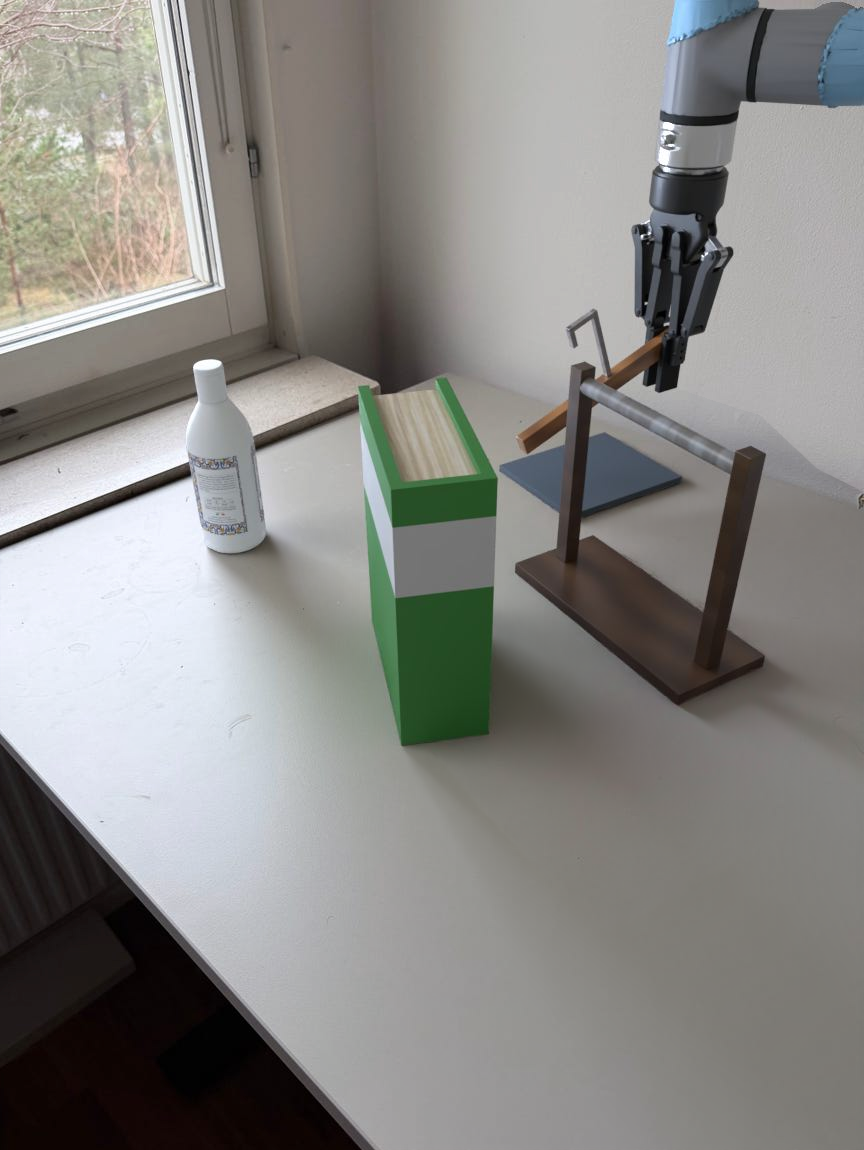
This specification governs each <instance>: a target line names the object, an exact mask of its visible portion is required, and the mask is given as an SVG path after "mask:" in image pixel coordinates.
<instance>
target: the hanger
mask: <svg viewBox="0 0 864 1150" xmlns="http://www.w3.org/2000/svg"><path fill="white" fill-rule="evenodd" d="M589 322H591V326H592V330H593V334H594V338H595V344H596V347H597V351H598V356H599V359H600V364H601V368H602V373H603V374H601V375H600V376H598V377H597V378H595V380H597V381H599V382H601V383H603V384H605V385H607V386H609V387H611V388H613V389H614V390H616V391H619V389H620V388H622V387H623V386H624V385H627V384H628V383H629V382H630V381H632V380H633V379H634V378H636V377H638V376H639V375H640V374H641V373H644V370H646V369H647V368H648V367H650V366H651V365H652V364H654V363H655V362H657V361H658V360H659V357H660V350H661V341H662V336H663V333H666V332H669V328H667V329H665V330H664V331H663V332H661V333H660V334H658V335H657V336H656V337H654V338H653V339H651V340H650V341H649V342H647V343H646V344H645V343H644V344H643V345H642V346H640V347H639V348H637V349H636V350H635V351H633V352H632V353H631V354H629V355H628V356H626V357H625V358H624V359H622V360H621V361H619V362H618V363H616V364H615V365H614V366H612V367H611V365H610V361H609V356H608V352H607V348H606V343H605V339H604V335H603V330H602V325H601V322H600V317H599V312H598V310H597V309H595V308H592V309H590V310H589V311H587V312H586V313H585V314H583V315H582V316H580V317H579V318H577V319H576V320H574V321H573V322H572V323H570V324H569V325H568V326H566V327H565V332H566V335H567V339H568V343H569V347H570V348H572V349H576V348H577V347H578V346H579V343H578V340H577V336H576V331H577V330H579V329H580V328H582V327H583V326H584V325H586V324H587V323H589ZM597 405H599V403H598V402H596V401H595V400H593V402H592V409H593V408H594V407H595V406H597ZM567 410H568V399H566V400H564V401H563V402H562V403H560V404H559V405H558V406H556V407H555V408H553V409H552V410H551V411H549V412H548V413H546V414H545V415H544V416H542V417H541V418H539V420H536V421H535V422H533V423H532V424H531V425H530V426H528V427H527V428H526V429H524V430H523V431H521V432H520V433H519V434H517V435H516V436H515V438H516V441H517V444H518V448H519V450H520V451H521V452H523V453H524V454H526V455H529V454H530V453H532V452H533V451H535V450H536V449H537V448H539V447H540V446H541V445H543V444H544V443H546V442H547V441H548V440H550V439H551V438H552V437H554V436H555V435H557V434H558V433H560V432H561V431H562V430H563V429H566V423H567Z"/></svg>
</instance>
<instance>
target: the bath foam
mask: <svg viewBox="0 0 864 1150" xmlns="http://www.w3.org/2000/svg"><path fill="white" fill-rule="evenodd" d="M192 370H193V374H194V375H193V376H194V382H195V388H196V393H197V398H198V401H197V403H196V405H195V407H194V409H193V411H192V413H191V415H190V418H189V421H188V423H187V427H186V434H185V444H186V447H185V448H186V452H187V458H188V463H189V469H190V475H191V481H192V486H193V490H194V496H195V501H196V508H197V513H198V518H199V523H200V524H199V525H200V527H201V534H202V538H203V542H204V544H205V546H207V547H208V548H209V549H211V550H213V551H215V552H218V553H221V554H239V553H244V552H248V551H251V550H253V549H254V548H256V547H258V546H259V545H261V543H263V541H264V539H266V535H267V526H266V519H265V510H264V503H263V495H262V489H261V481H260V473H259V465H258V459H257V451H256V445H255V443H256V442H255V438H254V435H253V431H252V427H251V425H250V423H249V421H248V420H247V417H245V414H243V412H242V411H241V410H240V408H239V407H238V406H237V404H235V402H233V401H232V400H231V399H230V398H229V396H228V390H227V382H226V376H225V375H226V374H225V368H224V365H223V362H222V361H221V360H218V359H203V360H199V361H197V362H195V363H194V364H193V367H192Z"/></svg>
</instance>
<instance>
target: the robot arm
mask: <svg viewBox="0 0 864 1150" xmlns="http://www.w3.org/2000/svg"><path fill="white" fill-rule="evenodd" d="M814 8H815V7H814ZM814 8H798V9H797V8H795V9H794V8H792V9H791V8H789V9H775V8H767V7H760V1H759V0H675V1H674V6H673V11H672V18H671V24H670V28H669V36H668V39H667V40H666V54H665V56H666V57H665V65H664V68H665V69H664V74H663V75H664V76H663V84H662V85H663V86H662V95H661V104H660V110H659V117H658V118H659V119H658V127H657V134H656V142H655V150H654V151H655V152H654V161H655V162H656V164H658V165H656V166H655V167H654V169H653V170H652V173H651V181H650V188H649V197H648V203H649V206H650V207H651V208H652V209H653V210H652V212H651V214H650V217H649V220H647V221H645V222H642V223H641V222H640V223H637V224H633V225H632V227H631V230H630V232H631V235H632V242H633V246H634V307H633V308H634V309H633V310H634V311H633V313H634V315H635V317H636V318H641V319H642V320H643V321H644V326H645V328H646V330H645V338H644V339H645V340H644V345H645V344H646V343H647V342H649V341H650V340H651V339H653V338H654V337H656V336H657V335H658V334H660V333H661V332H663V331H664V330H665V329H667V328H669V332H666V333H663V336H662V341H661V350H660V357H659V360H658V361H657V362H655V363H654V364H652V365H651V366H650V367H648V368H647V369H646V370H644V371H643V377H642V382H641V383H642V386H643V387H645V388H647V387H652V386H654V385H655V386H654V392H656V393H658V394H661V393H664V392H668V391H670V390H671V391H672V390H675V389H677V388H678V384H679V377H680V371H681V365H683V364H684V363H685V361H686V357H687V349H688V343H689V338H690V337H693V336H696V335H700V334H704V333H705V332H706V329H707V326H708V323H709V320H710V316H711V313H712V310H713V307H714V303H715V299H716V297H717V293H718V290H719V287H720V283H721V280H722V278H723V274H724V270H725V268H726V267H727V266H728V264H729V263H730V261H731V260H732V259H733V257H734V248H733V247H732V246H725V247H724V246H723V244H722V243H721V242H720V240H719V239H718V238H717V235H718V226H717V216H718V213H719V211H720V210H721V208H722V207H723V206H724V203H725V199H726V194H727V193H726V192H727V186H728V181H729V174H730V172H729V171H728V169H727V167H726V166H727V165H729V164H730V163H731V162H732V158H733V152H734V151H733V150H734V145H735V137H736V131H737V125H738V119H739V115H740V107H741V103H742V102H747V103H755V104H756V103H770V104H772V103H773V104H787V105H788V104H789V105H804V106H805V105H806V106H821V107H823V106H824V107H827V108H829V109H836V108H839V107H861V106H862V107H863V106H864V8H863V7H860V8H858V9H857V8H855V7H854V6H852V5H850V4H847V3H844V2H830V3H826V4H822V5H821V6H819V7H817V8H815V9H814ZM668 323H669V324H668ZM665 324H666V325H665Z"/></svg>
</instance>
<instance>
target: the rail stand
mask: <svg viewBox="0 0 864 1150" xmlns="http://www.w3.org/2000/svg"><path fill="white" fill-rule="evenodd" d="M596 370H597V367H596V366H595V365H592V364H590V363H588V362H587V361H581V362H578V363H575V364H571V365H570V374H569V386H568V398H567V400H568V410H567V423H566V427H565V436H564V445H565V448H564V461H563V473H562V486H561V498H560V511H559V512H558V524H557V537H556V548H553V549H550V550H548V551H547V550H546V551H544V552H542V553H540V554H537V555H533V556H531V557H528V558H526V559H522V560H520V561H517V562H515V564H514V573H515V574H516V575H517V576H518V577H519V578H521V579H522V580H523V581H524V582H525V583H527V584H528V585H529V586H530V587H532V588H533V589H534V590H536V592H537V593H539V594H540V595H542V596H543V597H544V598H545V599H546V600H547V601H549V602H550V603H551V604H552V605H553V606H555V607H556V608H557V609H559V610H560V611H561V612H562V613H564V614H565V615H566V616H567V617H568V618H570V619H571V620H572V621H573V622H574V623H576V624H577V625H578V626H579V627H580V628H582V629H583V630H584V631H586V632H587V633H588V634H589V635H590V636H592V637H593V638H594V639H595V640H597V642H599V643H600V644H601V645H602V646H604V647H605V648H607V649H608V650H609V651H610V652H611V653H612V654H614V655H615V656H616V657H618V658H619V659H620V660H621V661H622V662H624V664H626V665H627V666H628V667H630V668H631V669H632V670H633V671H635V672H636V673H637V674H638V675H640V677H642V678H643V680H645V681H646V682H648V683H649V684H650V685H652V686H653V687H654V688H655V689H656V690H658V691H659V692H660V693H661V694H663V695H664V696H665V697H666V698H667V699H668V700H670V702H672V703H674V704H675V705H676V706H679V705H681V704H683V703H685V702H687V701H689V700H691V699H694V698H696V697H698V696H700V695H703V694H705V693H707V692H710V691H712V690H714V689H716V688H719V687H720V686H722V685H724V684H726V683H729V682H732V681H733V680H735V679H738V678H740V677H742V676H744V675H746V674H749V673H751V672H753V671H755V670H757V669H760V668H761V667H763V666H764V662H765V658H766V655H765V654H763V652H760V651H759V650H757V648H755V647H753V646H752V645H751V644H749V642H746V641H745V640H744V639H742V638H741V637H739V636H738V635H737V634H735V633H734V632H732V631H731V630H729V625H730V620H731V615H732V611H733V607H734V602H735V598H736V592H737V589H738V583H739V579H740V575H741V570H742V565H743V562H744V556H745V553H746V547H747V543H748V538H749V533H750V529H751V525H752V521H753V516H754V512H755V506H756V503H757V497H758V493H759V489H760V484H761V480H762V475H763V471H764V466H765V461H766V457H767V453H766V452H765V451H762V450H760V449H758V448H756V447H754V446H753V445H749V446H745V447H742V448H740V449H737V450H735V451H733V450H732V449H729V448H727V447H726V446H725V445H722V444H720V443H718V442H716V441H714V440H712V439H710V438H708V437H707V436H704V435H703V434H701V433H699V432H697V431H695V430H693V429H691V428H689V427H687V426H685V425H683V424H681V423H680V422H677V421H676V420H673V419H672V418H670V417H668V416H666V415H664V414H662V413H660V412H659V411H657V410H655V409H653V408H651V407H649V406H647V405H645V404H644V403H642V402H640V401H637V400H636V399H634V398H631V397H630V396H628V395H626V394H625V393H622V392H620V391H619V390H614V389H613V388H611V387H609V386H607V385H605V384H603V383H601V382H599V381H597V380H596V372H597V371H596ZM593 400H595V401H596V402H598V404H600V405H602V406H604V407H606V408H607V409H609V410H611V411H612V412H615V413H617V414H618V415H620V416H621V417H624V418H626V419H627V420H629V421H631V422H633V423H635V424H637V425H639V426H640V427H642V428H644V429H646V430H648V431H649V432H651V433H653V434H655V435H657V436H658V437H660V438H662V439H664V440H666V441H668V442H670V443H671V444H673V445H675V446H677V447H678V448H681V449H683V451H686V452H688V453H689V454H692V455H694V456H695V457H697V458H699V459H701V460H703V461H705V462H706V463H708V464H710V465H712V466H713V467H715V468H718V469H719V470H721V471H723V472H725V473H726V474H728V475H729V481H728V486H727V489H726V490H727V491H726V496H725V500H724V506H723V512H722V516H721V520H720V527H719V531H718V532H719V533H718V536H717V541H716V546H715V551H714V556H713V560H712V561H713V562H712V567H711V572H710V576H709V581H708V587H707V592H706V597H705V601H704V606H703V610H701V609H699V608H698V607H696V606H695V605H694V604H693V603H691V602H689V601H688V600H687V599H685V598H684V597H683V596H681V595H680V594H678V593H676V591H674V590H672V589H671V588H669V586H667V585H666V584H663V582H661V581H660V580H658V579H656V578H655V577H654V576H652V575H651V574H649V572H647V571H645V570H644V569H642V567H639V565H637V564H635V563H634V562H632V560H630V559H628V558H627V557H625V556H624V555H622V554H621V553H619V552H618V551H617V550H615V549H614V548H612V547H611V546H610V545H608V544H607V543H605V542H604V541H602V540H601V539H600V538H598V537H597V536H595V535H594V534H592V535H589V536H586V537H584V538H581V528H582V527H581V526H582V518H583V517H582V507H583V496H584V486H585V476H586V465H587V455H588V444H589V437H590V433H591V423H592V413H593V408H592V402H593ZM580 538H581V539H580Z"/></svg>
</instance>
